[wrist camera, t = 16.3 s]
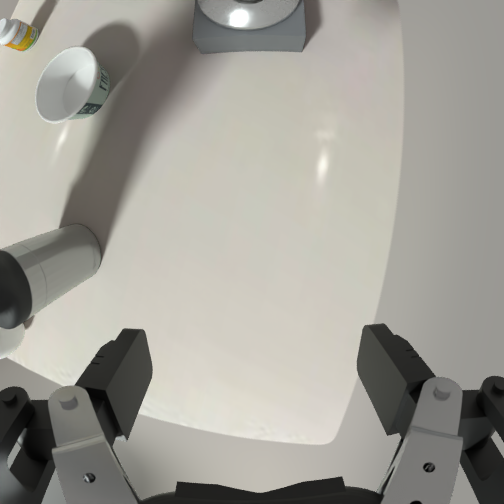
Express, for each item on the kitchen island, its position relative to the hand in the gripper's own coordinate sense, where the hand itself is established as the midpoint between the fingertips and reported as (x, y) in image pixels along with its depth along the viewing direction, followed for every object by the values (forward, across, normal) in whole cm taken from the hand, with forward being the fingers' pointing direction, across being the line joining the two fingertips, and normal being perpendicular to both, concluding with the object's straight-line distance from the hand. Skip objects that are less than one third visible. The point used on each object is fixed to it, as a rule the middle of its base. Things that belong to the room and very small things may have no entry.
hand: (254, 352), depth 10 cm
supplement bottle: (+36, +42, -37) cm, 66 cm away
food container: (+34, +25, -21) cm, 47 cm away
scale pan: (+28, 0, -30) cm, 42 cm away
